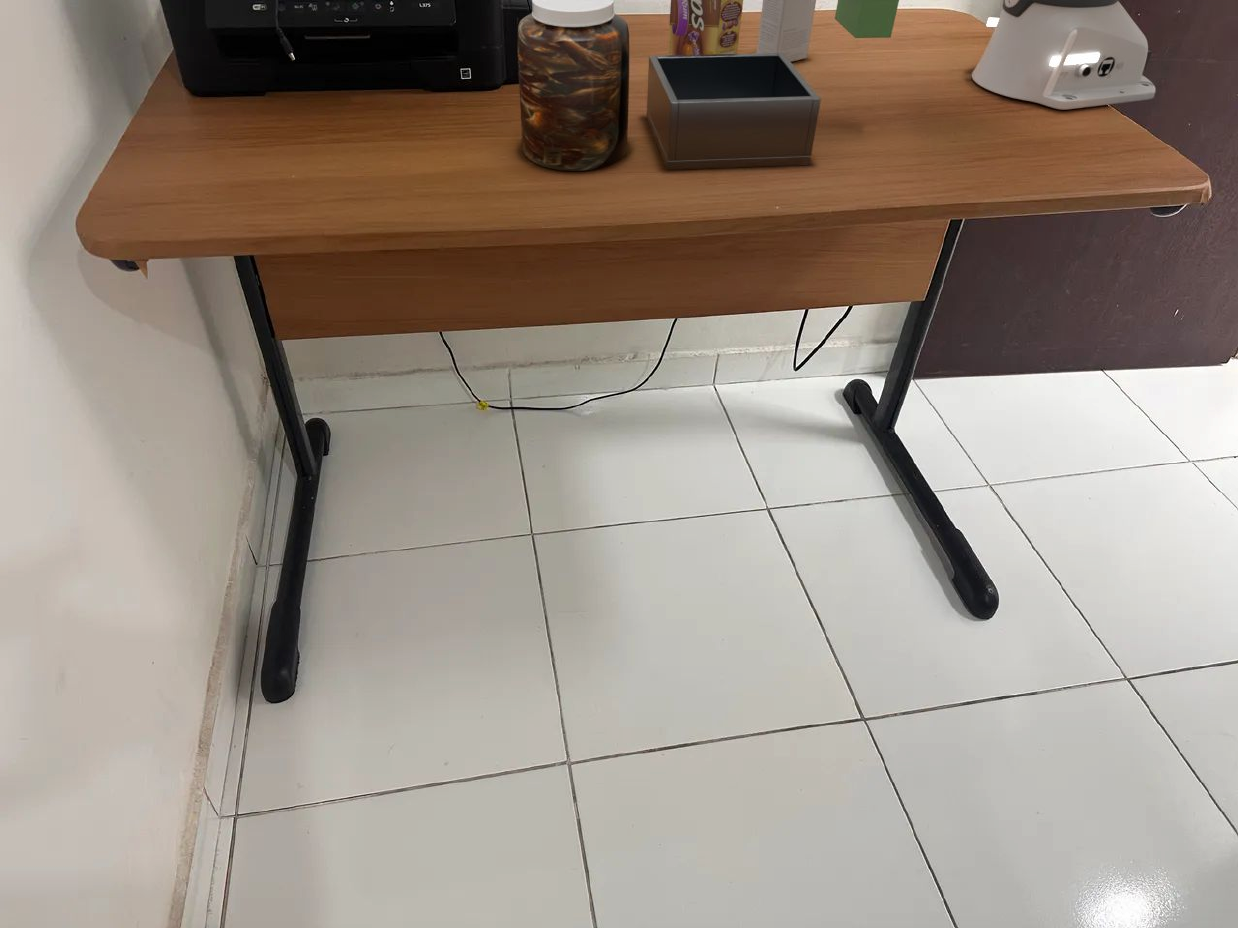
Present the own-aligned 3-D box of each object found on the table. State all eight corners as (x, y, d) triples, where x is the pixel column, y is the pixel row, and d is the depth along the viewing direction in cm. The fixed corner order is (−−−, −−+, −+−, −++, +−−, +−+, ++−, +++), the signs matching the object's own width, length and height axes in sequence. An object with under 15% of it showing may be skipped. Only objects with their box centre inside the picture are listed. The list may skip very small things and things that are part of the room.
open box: (774, 114, 104) (783, 52, 99) (809, 165, 93) (821, 98, 89) (646, 118, 102) (648, 55, 98) (667, 170, 92) (671, 103, 87)
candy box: (736, 88, 110) (750, -48, 100) (712, 95, 108) (724, -43, 98) (688, 69, 115) (698, -63, 105) (664, 75, 113) (671, -58, 103)
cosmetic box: (786, 51, 122) (800, -47, 114) (808, 60, 119) (824, -40, 111) (753, 58, 119) (765, -41, 111) (775, 68, 116) (789, -34, 108)
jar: (646, 161, 93) (653, 9, 83) (545, 179, 89) (539, 22, 79) (601, 122, 101) (602, -21, 91) (506, 137, 97) (496, -11, 87)
